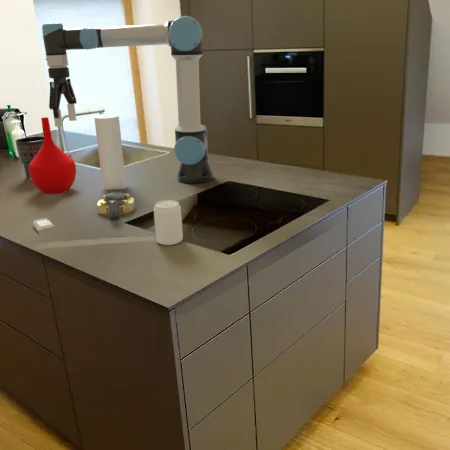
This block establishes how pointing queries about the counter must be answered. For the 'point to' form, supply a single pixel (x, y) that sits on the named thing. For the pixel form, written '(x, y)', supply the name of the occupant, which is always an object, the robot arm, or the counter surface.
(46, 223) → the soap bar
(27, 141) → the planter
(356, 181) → the counter surface
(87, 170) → the counter surface
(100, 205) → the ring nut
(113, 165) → the cylinder container
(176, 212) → the beverage can
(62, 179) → the vase
